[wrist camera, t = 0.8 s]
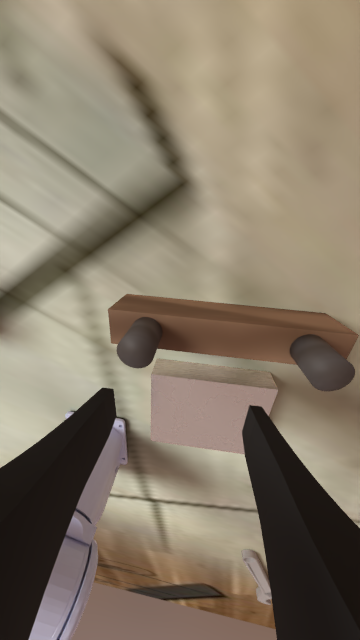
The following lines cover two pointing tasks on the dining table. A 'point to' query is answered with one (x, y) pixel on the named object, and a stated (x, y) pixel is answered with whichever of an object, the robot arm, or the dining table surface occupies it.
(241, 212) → the dining table surface
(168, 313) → the stop rail
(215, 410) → the plate
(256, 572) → the adjustable wrench
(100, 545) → the dining table surface
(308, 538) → the robot arm
